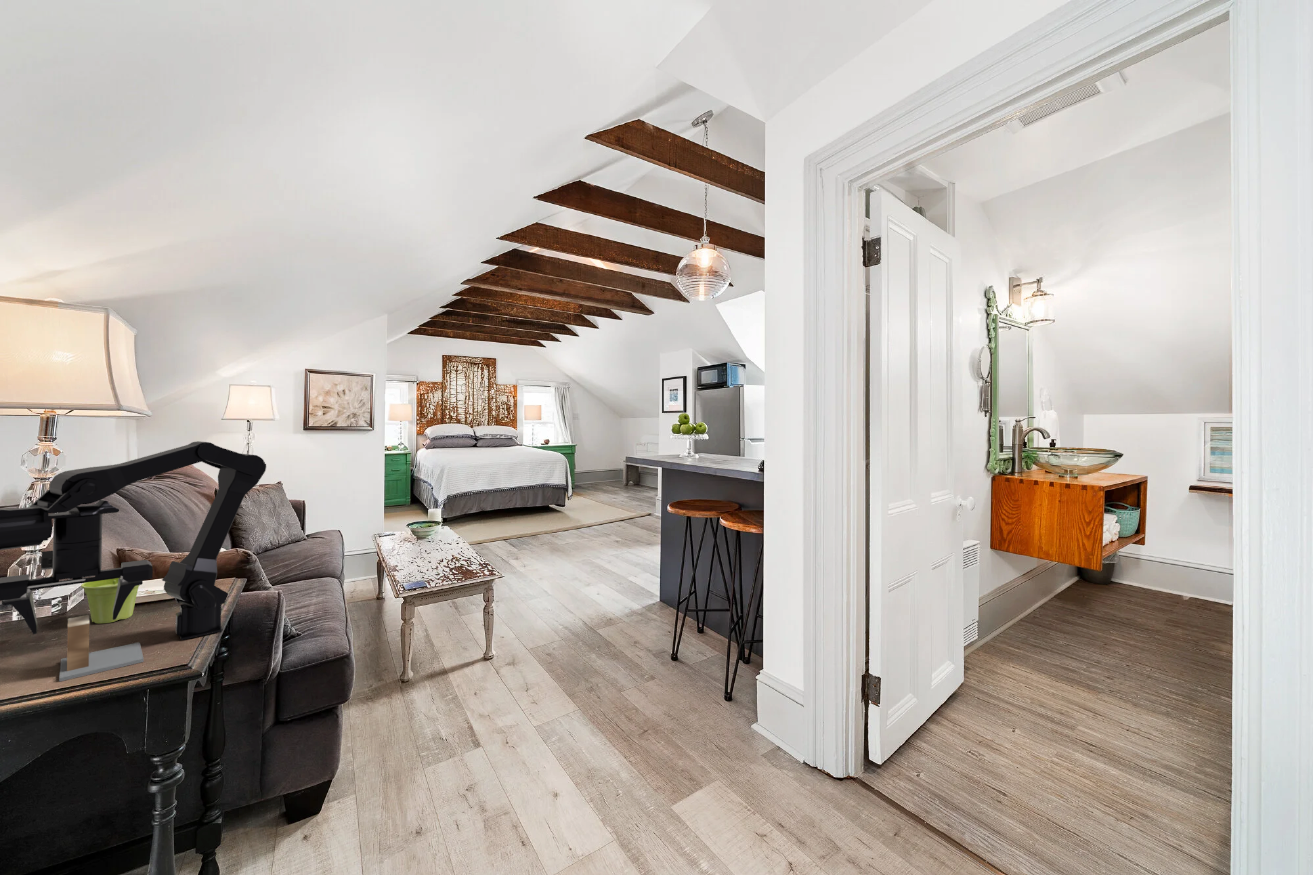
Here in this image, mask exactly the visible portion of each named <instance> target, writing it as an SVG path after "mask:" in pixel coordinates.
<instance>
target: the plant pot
mask: <svg viewBox="0 0 1313 875" xmlns="http://www.w3.org/2000/svg"><path fill="white" fill-rule="evenodd" d="M118 579H119V578H116V579H108V580H101V581H94V582H87V583H81V585H80V587H81V588H82V589H83V590H84V594H85V595H86V598H87V602H88V607H89V608H88V610H89V615H90V619H91V622H92V623H95V624H109V623H114V622H115V623H116V621H118V620H119V621H120V620H126V619H129V618H131V617H132V616H133V614H134V609H135V604H136V600H137V596H138V591H139V587H140V586H141V585H137V586H135V587H134V588H133V590H132V591H131V593H130V594H129V595H128V597H127V598H126V600H125V602H124V604H123V606H122V608H121V610H120V612H119V614H118V616H117V618H116V620H113V607H114V602H115V597H116V592H117V586H118Z"/></svg>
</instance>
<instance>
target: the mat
mask: <svg viewBox="0 0 1313 875" xmlns="http://www.w3.org/2000/svg"><path fill="white" fill-rule="evenodd" d="M140 663H144V655H143V650H142V647H141V642H134V643H129V644H125V645H124V644H123V645H120V646H115V647H111V648H106V649H100V650H95V651H91V652H89V666H88V667H84V668H79V669H75V670H71V671H67V657H64V658H60V667H59V678H58V679H59V680H58V681H59V682H64V681H68V680H72V679H76V678H81V677H85V676H89V675H93V674H97V673H101V672H106V671H110V670H114V669H118V668H123V667H126V666H127V667H128V666H130V665H135V664H140Z"/></svg>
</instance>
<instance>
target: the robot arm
mask: <svg viewBox="0 0 1313 875" xmlns="http://www.w3.org/2000/svg"><path fill="white" fill-rule="evenodd" d="M199 463H204V464H206V465H207V466H210V467H212V468H216V469H218V470H219V471H218V474H217V483H218V485H217V486H218V490H217V493H216V495H215V497H214V499H213V502H212V503H211V505H210V508H209V510H208V511H207V515H206V516H205V518H204V522H203V523H202V525H201V527H200V530H199V531H198V534H197V536H196V538H195V539H194V541H193V544H192V545H191V546H192V547H190V548H191V549H190V551H189V553H188V554H187V555H186V556H185V557H184V558H182V560H181V561H180V562H178V561H174V560H173V561H171V562H170V564H169V568H168V571H167V573H166V575H165V576H164V577H163V578H162V579H161V581H162V582H164V584H163V590H164V592H165V593H166V594H167V596H170V597H172V598H174V599H175V602H176V604H179V612H176V613H175V634H176V636H178V637H179V638H180V640H182V641H185V640H189V639H192V638H193V639H194V638H197V637H198V638H199V637H202V636H207V635H211V634H216V633H221V632H223V631H224V628H223V627H222V605H223V604H225V602H226V601H227V598H228V596H229V593H228V592H227V591H225V590H223V589H221V588H219V587H218V586H216V581H217V576H218V565H217V564H218V562H217V560H218V559H217V558H218V556H219V555H220V552H221V550H222V547H223V545H224V544H225V542H226V539H227V536H228V534H229V532H230V530H231V527H232V524H233V522H234V520H235V518H236V516H237V514H238V512H239V509H240V506H241V504H242V502H243V500H244V498H245V496H246V495H247V494H248V493H249V492H250V491H251V490H252V489H253V488H255V487H256V485H258V483H259V482H260V480H261V479H262V477H263V476H264V475H265V472H266V470H267V463H266V462H265V460H264V459H263V458H262V457H261V456H258V455H256V454H247V453H239V452H237V451H233V450H230V449H228V448H225V447H221V446H218V445H216V444H215V443H213V442H207V441H192V442H190V443H189V444H186V445H182V446H179V447H175V448H172V449H167V450H164V451H160V452H158V453H157V452H156V453H152V454H149V455H146V456H143V457H138V458H135V459H131V460H128V461H125V462H122V463H117V464H109V465H99V466H92V467H91V466H90V467H83V468H77V469H71V470H65V471H62V472H59V473H58V474H55V475H54V477H53V478H52V480H51V481H50V482H49V486H48V487H49V489H47V490H46V491H45V492H44V493H43V494H42V495H41V496H39V498H37V499H36V500H35V501H34V502H33V503H32V504H31V505H30V507H29V506H27V507H17V508H0V551H4V550H12V549H22V548H28V547H29V548H30V547H35V546H36V547H37V546H40V545H42V544H43V542H44V541H45V542H46V541H48V540H49V539H50V538H51V536H52V541H53V542H52V550H44V551H41V558H40V569H41V570H42V571H47V570H52V571H51V573H52V576H47V577H38V578H31V579H30V574H29V573H27V574H19V575H12V576H11V575H10V576H4V577H0V602H1V606H8V605H9V606H12V607H13V608H14V609H15V610H16V611H17V612H18V614H20V616H21V617H22V618H23V620H24V622H25V624H26V625H27V626H28V628H29V630H30V631H31V633H32V635H37V634H38V619H37V615H36V614H37V613H36V609H35V604H34V595H33V591H34V590H36V591H37V590H42V589H48V588H49V589H50V588H56V587H63V586H70V585H78V584H79V585H80V584H83V583H87V582H94V581H101V580H108V579H116V578H119V579H118V586H117V592H116V597H115V602H114V607H113V620H116V618H117V616H118V614H119V612H120V610H121V608H122V606H123V604H124V602H125V600H126V598H127V597H128V595H129V594H130V593H131V591H132V590H133V588H134V587H135V586H137V585H140V586H141V585H143V582H144V581H147V580H151V579H153V575H154V574H153V571H154V570H153V564H152V562H151V561H150V560H148V559H142V560H141V559H140V560H133V561H126V562H125V561H124V562H121V565H120V567H117V568H110V569H109V568H107V569H102V561H103V559H102V558H103V557H102V554H103V553H102V551H103V515H105V514H115V513H119V512H120V508H118V507H116V506H113V504H111V503H110V502H109V501H108V500H104V499H105V498H108V497H110V496H112V495H114V494H116V493H118V492H120V491H121V490H123V489H124V488H126V487H127V486H130V485H132V484H134V483H136V482H140V481H143V480H146V479H149V478H152V477H156V476H160V475H162V474H167V473H169V472H173V471H175V470H179V469H182V468H186V467H189V466H192V465H194V464H199Z"/></svg>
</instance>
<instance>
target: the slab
mask: <svg viewBox="0 0 1313 875" xmlns="http://www.w3.org/2000/svg"><path fill="white" fill-rule="evenodd" d="M66 638H67V644H66V645H67V646H66V649H67V650H66V658H67V671H71V670H75V669H79V668H84V667H88V666H89V653H90V614H87V615H86V614H85V615H82V616H81V615H80V616H76V617H75V616H74V617H69V618H67V637H66Z"/></svg>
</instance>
